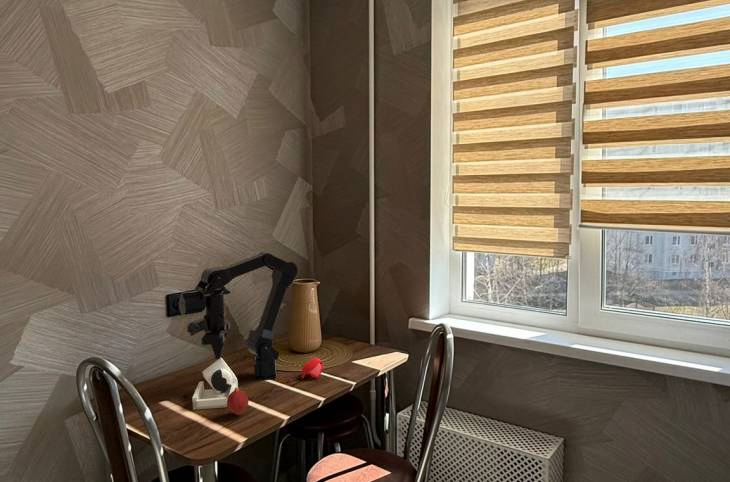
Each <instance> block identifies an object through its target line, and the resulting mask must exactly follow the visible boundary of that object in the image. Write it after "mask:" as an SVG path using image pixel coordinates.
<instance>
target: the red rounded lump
mask: <svg viewBox="0 0 730 482" xmlns="http://www.w3.org/2000/svg"><path fill="white" fill-rule="evenodd" d="M248 406H249V397H248V395H247V394H246V392H245V391H243V390H241V389H240V388H239V387H238V388H235V389H234V391H233V392H232V393H231V394H230V395H229V396H228V399H227V407H226V408H228V410H229V411H230V412H231V413H233V414H234V415H236V416H240V415H242V414H243V413H244V412H245V411H246V410H247V408H248Z"/></svg>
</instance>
